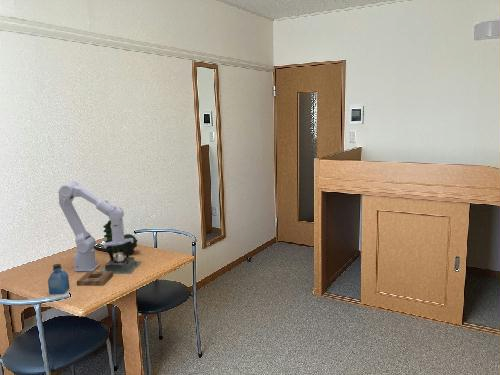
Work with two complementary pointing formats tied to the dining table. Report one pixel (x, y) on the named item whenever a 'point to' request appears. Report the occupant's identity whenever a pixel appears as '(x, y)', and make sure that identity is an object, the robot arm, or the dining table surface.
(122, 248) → the toy figurine
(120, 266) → the metal hub block
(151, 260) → the dining table surface
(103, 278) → the walnut stand
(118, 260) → the steel peg
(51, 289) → the perfume bottle
